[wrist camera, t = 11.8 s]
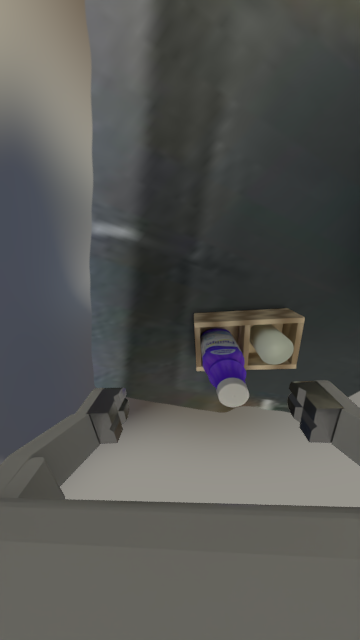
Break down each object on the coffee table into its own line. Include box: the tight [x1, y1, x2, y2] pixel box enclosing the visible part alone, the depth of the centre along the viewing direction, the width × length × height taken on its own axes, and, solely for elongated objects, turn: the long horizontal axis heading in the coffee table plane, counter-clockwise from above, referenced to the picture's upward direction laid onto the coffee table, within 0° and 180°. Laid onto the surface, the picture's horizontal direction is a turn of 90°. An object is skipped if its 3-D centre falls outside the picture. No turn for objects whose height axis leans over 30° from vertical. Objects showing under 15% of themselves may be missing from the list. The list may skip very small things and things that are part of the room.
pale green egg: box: [249, 324, 294, 365], centre depth 35 cm, size 6×6×7 cm
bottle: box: [200, 328, 249, 407], centre depth 31 cm, size 7×6×17 cm
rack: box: [194, 308, 305, 371], centre depth 37 cm, size 20×11×6 cm, turn 94°
